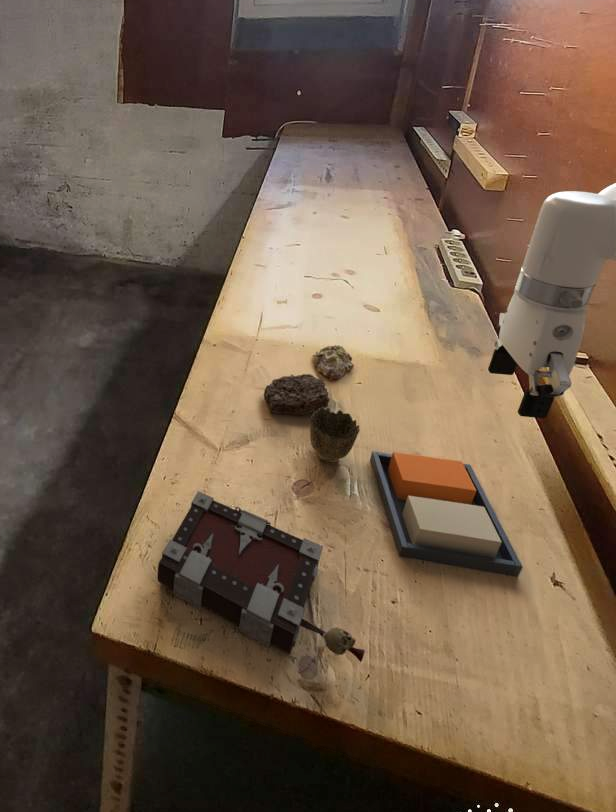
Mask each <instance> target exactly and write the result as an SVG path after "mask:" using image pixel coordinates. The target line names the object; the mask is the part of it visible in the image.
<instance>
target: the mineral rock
mask: <svg viewBox="0 0 616 812" xmlns="http://www.w3.org/2000/svg"><path fill="white" fill-rule="evenodd" d="M314 353H315V354H313V355H312V358H313V363H314V365H315V367H316V368H317V372H319V373H321V374H323V376H324V377H325V378H328V379H329V380H334V379H336V380H339V379H342V378H343V377H344V376H345V374H346V372H351V371H352V370H353V369H354V366H355V364H354V363H353V358H352V356H351V355H350V354H349V353H348V352H347V350H346V349H345V348H344V347H343V346H342V345H339V344H338V345H337V344H334V345H328V346H326V347H323V348H321V349H320V351H316V352H314Z"/></svg>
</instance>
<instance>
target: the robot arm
mask: <svg viewBox="0 0 616 812" xmlns="http://www.w3.org/2000/svg"><path fill="white" fill-rule="evenodd" d="M530 238H531V239H530V242H529V244H528V247H527V251H526V254H525V257H524V260H523V263H522V266H521V269H520V272H519V275H518V277H517V281H516V283H515V287H514V292H513V295H512V297H511V299H510V301H509V303H508V306H507V308H506V311H505V312H500V313H499V316H498V317H499V318H498V319H499V320H498V327H497V329H496V333H497V339H496V340H494V350H493V353H492V356H491V359H490V361H489V365H488V368H487V371H488V372H489V374H494V375H505V376H513V375H514V374H515V372H516V368H517V365H518V366H519V368H520V369H521V370H522V371H523V372H525V373H526V374H527V375H528V383H529V386H528V387H529V389H525V390H524V393H523V396H522V398H521V402H520V404H519V406H518V409H517V414H518V415H519V416H520V417H524V418H525V417H526V418H535V419H546V418H547V417H548V415H549V412H550V409H551V407H552V404H553V402H554V399H555V398H556V399H557V398H559V397H560V396H563V395H564V394H565V392H566V391H567V390H569V388H572V380H571V377H570V375H571V373H572V372H573V368H574V365H575V363H576V360H577V356H578V354H579V351H580V347H581V343H582V340H583V336H584V331H585V327H586V326H585V325H586V318H587V311H586V310H585V309H587V307H588V304H589V302H590V300H591V297H592V295H593V292H594V290H595V287H596V284H597V282H598V279H599V276H600V275H601V272H602V269H603V267H604V264H605V262H606V260H613V261H616V182H614V183H613V184H610V185H609V186H607V187H605V188H604V189H602V190H601V191H599V192H598V193H594V192H590V191H589V192H588V191H579V190H568V191H567V190H566V191H558V192H554V193H552V194H551V195H549V196H547V198H546V199H544V200H543V203H542V205H541V207H540V210H539V213H538V215H537V220H536V223H535V226H534V228H533V232H532V234H531V237H530ZM541 368H548V371H542V370H541ZM539 377H540V378H547V383H548V384H546V383H545V384H542V385H540V381H539V380H540V379H539Z"/></svg>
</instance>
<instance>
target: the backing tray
mask: <svg viewBox="0 0 616 812" xmlns="http://www.w3.org/2000/svg"><path fill="white" fill-rule="evenodd" d="M392 454H393V453H388V452H387V453H386V452H379V451H378V452H377V451H371V455H370V458H369V462H370V466H371V469H372V473H373V476H374V479H375V483H376V485H377V489H378V492H379V496H380V499H381V502H382V505H383V509H384V512H385V515H386V518H387V523H388V525H389V529H390V532H391V535H392V539H393V542H394V546H395V548H396V552H397V555H398V557H399V558H404V559H409V560H416V561H422V562H428V563H434V564H440V565H444V566H445V565H446V566H451V567H457V568H461V569H469V570H473V571H480V572H486V573H490V574H491V573H492V574H496V575H497V574H498V575H502V576H503V575H504V576H509V577H515V578H519V576H520V574H521V571H522V570H523V565H522V563H521V561H520V559H519V557H518V555H517V553H516V551H515V549H514V547H513V545H512V543H511V541H510V540H509V538H508V536H507V534H506V531H505V530H504V528H503V526H502V524H501V522H500V520H499V517H498V516H497V514H496V512H495V510H494V508H493V507H492V504H491V503H490V501H489V499H488V497H487V494H486V492H485V491H484V489H483V487H482V484H481V483H480V481H479V479H478V477H477V475H476V473H475V471H474V469H473V467H472V465H471V464H470V463H463V465H464V467H465V469H466V471H467V473H468V475H469V477H470V479H471V481H472V483H473V485H474V487H475V489H476V493H475V496H474V498H473V501H472V503H471V505H475V506H482V507H485V509H486V511H487V513H488V515H489V517H490V519H491V521H492V523H493V525H494V527H495V529H496V532H497V534H498V536H499V538H500V540H501V542H502V543H501V545H500V547H499V550H498V552H497V554H496V556H495V558H492V557H486V556H480V555H474V554H468V553H462V552H457V551H451V550H445V549H439V548H433V547H427V546H421V545H415V544H412V542H411V539H410V536H409V533H408V530H407V527H406V524H405V521H404V518H403V515H402V513H403V510H404V507H405V504H406V501H407V500H404V499H397V496H396V493H395V490H394V487H393V484H392V481H391V478H390V475H389V472H388V468H389V464H390V461H391V457H392Z"/></svg>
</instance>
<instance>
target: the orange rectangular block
mask: <svg viewBox="0 0 616 812" xmlns="http://www.w3.org/2000/svg"><path fill="white" fill-rule="evenodd" d="M391 454H392V457H391V461H390V464H389V468H388V472H389V475H390V478H391V481H392V484H393V487H394V490H395V493H396V496H397V499H404V500H407V498H408V495H409V496H415V497H422V498H429V499H435V500H442V501H449V502H455V503H462V504H469V505H471V503H472V501H473V498H474V496H475V493H476V489H475V487H474V485H473V483H472V481H471V479H470V477H469V475H468V473H467V471H466V469H465V467H464V465H463V464H464V462H463V461H462V460H455V459H454V460H453V459H446V458H440V457H431V456H425V455H418V454H411V453H410V454H409V453H402V452H395V451H392V453H391Z"/></svg>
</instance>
